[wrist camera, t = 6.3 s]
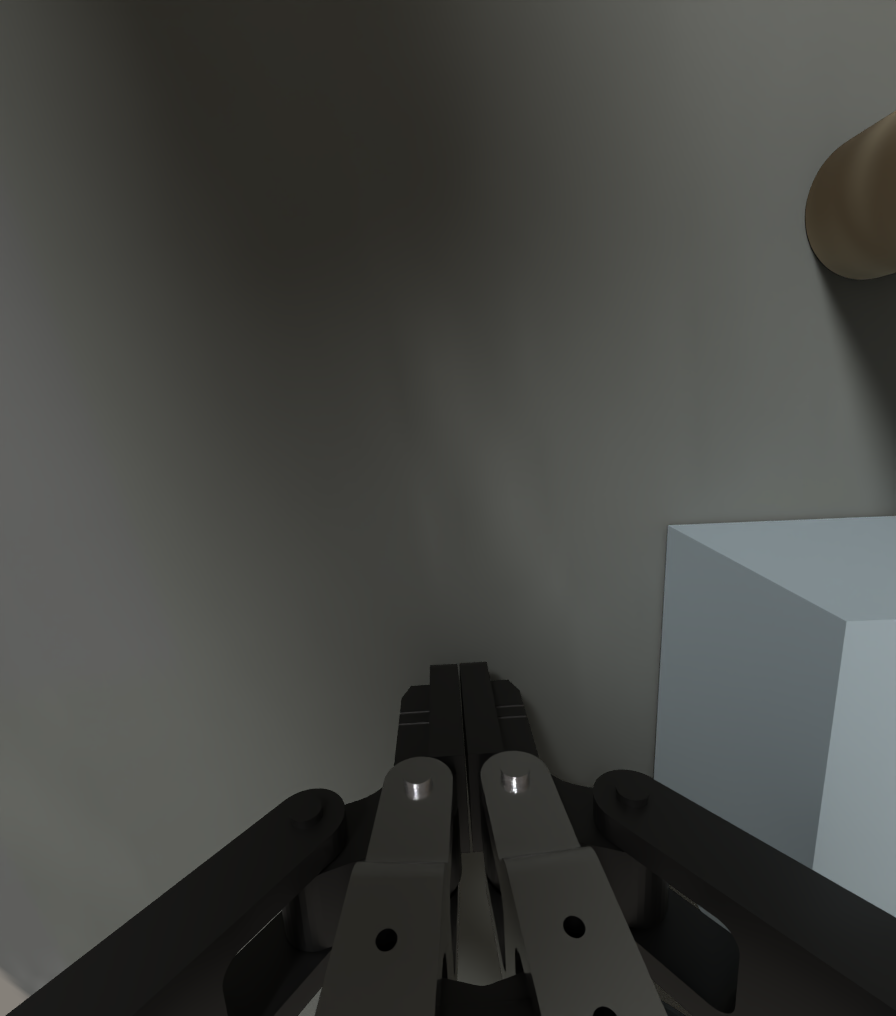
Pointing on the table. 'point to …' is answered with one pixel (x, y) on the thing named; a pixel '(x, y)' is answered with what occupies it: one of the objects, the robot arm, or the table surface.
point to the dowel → (857, 205)
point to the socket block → (786, 689)
